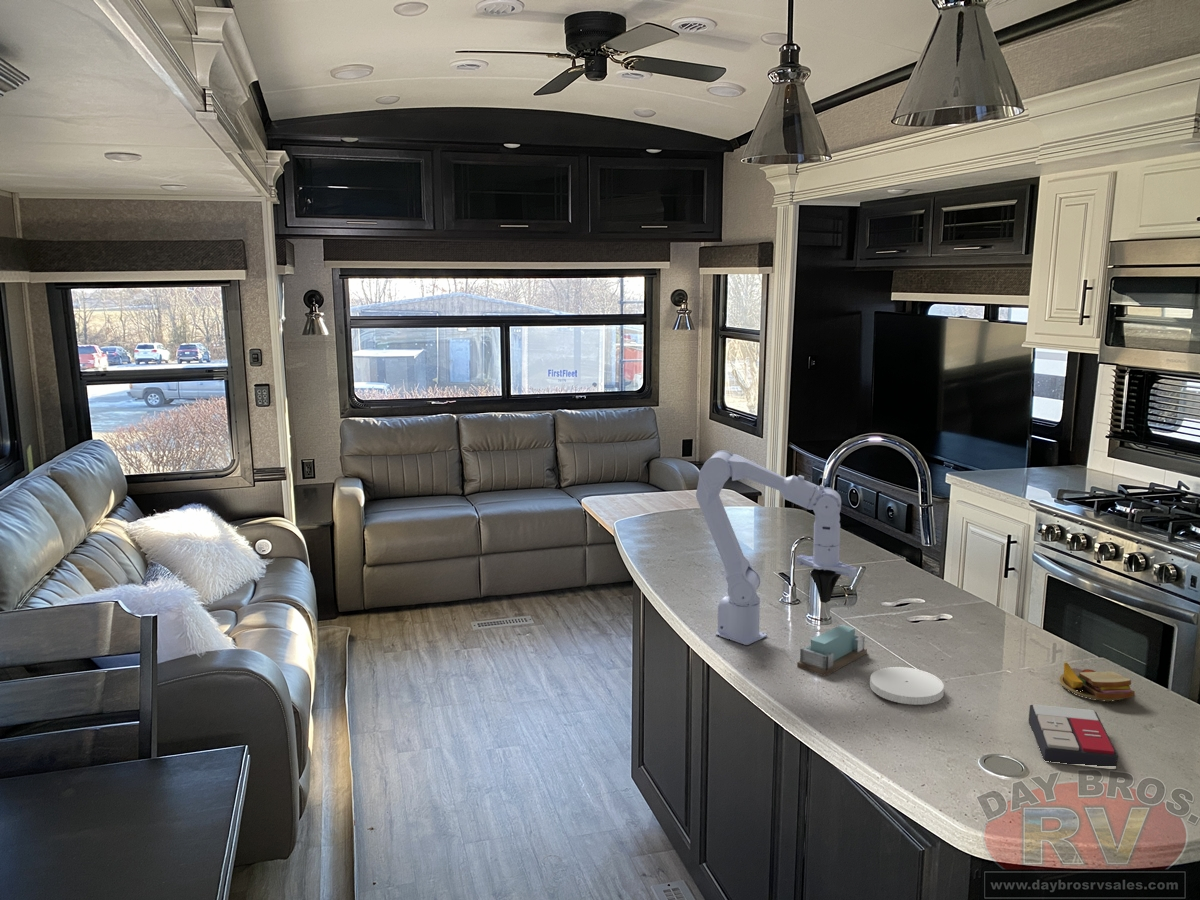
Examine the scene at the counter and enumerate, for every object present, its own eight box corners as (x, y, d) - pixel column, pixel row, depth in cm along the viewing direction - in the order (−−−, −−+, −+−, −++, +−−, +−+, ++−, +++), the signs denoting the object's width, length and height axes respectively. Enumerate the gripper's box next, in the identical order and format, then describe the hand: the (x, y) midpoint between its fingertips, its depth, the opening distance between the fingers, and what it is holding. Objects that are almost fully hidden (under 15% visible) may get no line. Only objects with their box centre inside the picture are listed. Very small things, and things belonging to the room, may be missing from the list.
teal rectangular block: (810, 661, 190) (810, 639, 189) (840, 645, 198) (841, 624, 197) (824, 666, 188) (824, 644, 187) (854, 649, 196) (855, 628, 195)
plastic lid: (875, 707, 171) (876, 695, 171) (864, 676, 185) (865, 665, 185) (951, 711, 169) (951, 698, 169) (934, 679, 183) (934, 668, 183)
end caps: (800, 661, 190) (800, 648, 190) (838, 641, 200) (839, 629, 200) (825, 670, 185) (826, 657, 185) (864, 649, 196) (864, 636, 195)
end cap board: (797, 666, 190) (797, 662, 190) (839, 644, 201) (839, 640, 201) (825, 676, 185) (825, 671, 185) (866, 653, 196) (866, 649, 196)
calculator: (1045, 744, 149) (1029, 700, 164) (1043, 767, 150) (1027, 721, 165) (1119, 752, 146) (1096, 706, 161) (1116, 775, 147) (1094, 728, 162)
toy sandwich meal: (1114, 677, 182) (1116, 656, 181) (1143, 708, 169) (1145, 685, 168) (1049, 675, 184) (1051, 653, 183) (1073, 705, 171) (1075, 682, 170)
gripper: (788, 540, 200) (788, 598, 202) (845, 553, 189) (843, 613, 192) (806, 534, 204) (805, 590, 207) (862, 546, 194) (861, 605, 196)
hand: (825, 601), depth 199 cm, fingers closed
